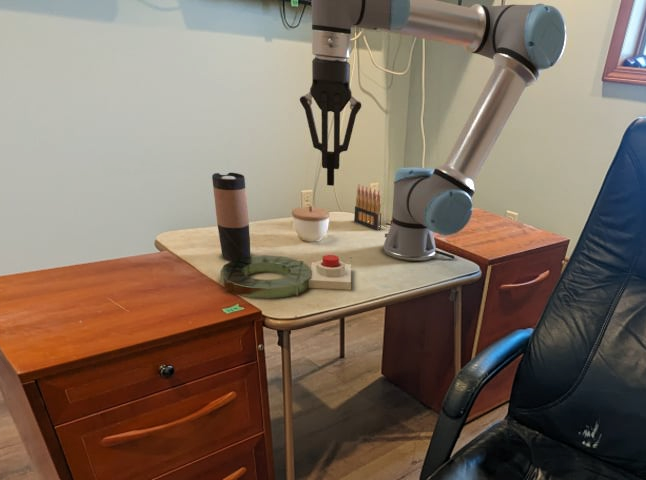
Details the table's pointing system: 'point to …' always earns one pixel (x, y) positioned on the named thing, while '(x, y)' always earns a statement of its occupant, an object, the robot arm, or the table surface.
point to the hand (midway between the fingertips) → (330, 184)
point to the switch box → (330, 276)
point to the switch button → (330, 261)
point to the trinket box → (310, 223)
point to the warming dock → (241, 284)
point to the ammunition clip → (368, 208)
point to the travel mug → (232, 215)
